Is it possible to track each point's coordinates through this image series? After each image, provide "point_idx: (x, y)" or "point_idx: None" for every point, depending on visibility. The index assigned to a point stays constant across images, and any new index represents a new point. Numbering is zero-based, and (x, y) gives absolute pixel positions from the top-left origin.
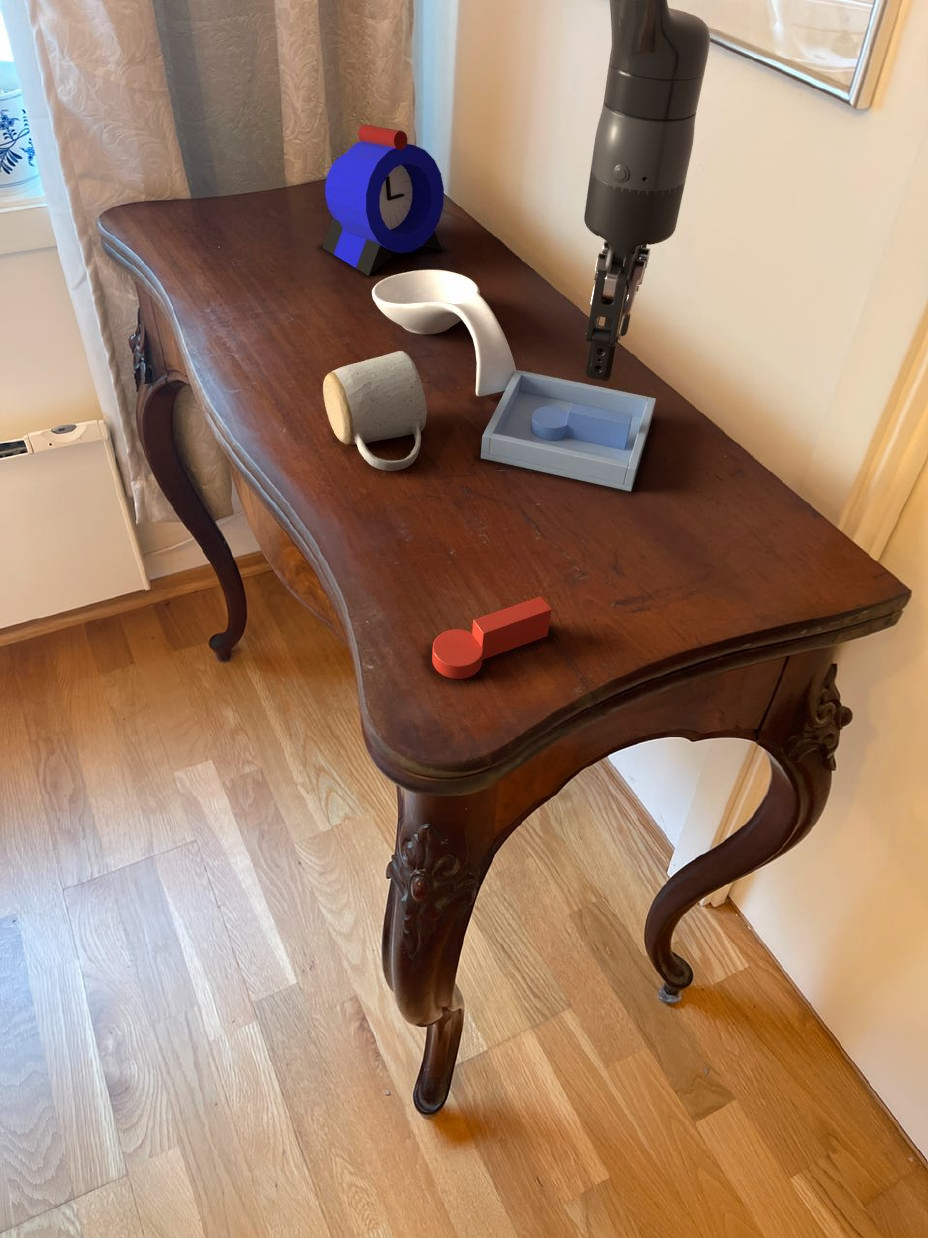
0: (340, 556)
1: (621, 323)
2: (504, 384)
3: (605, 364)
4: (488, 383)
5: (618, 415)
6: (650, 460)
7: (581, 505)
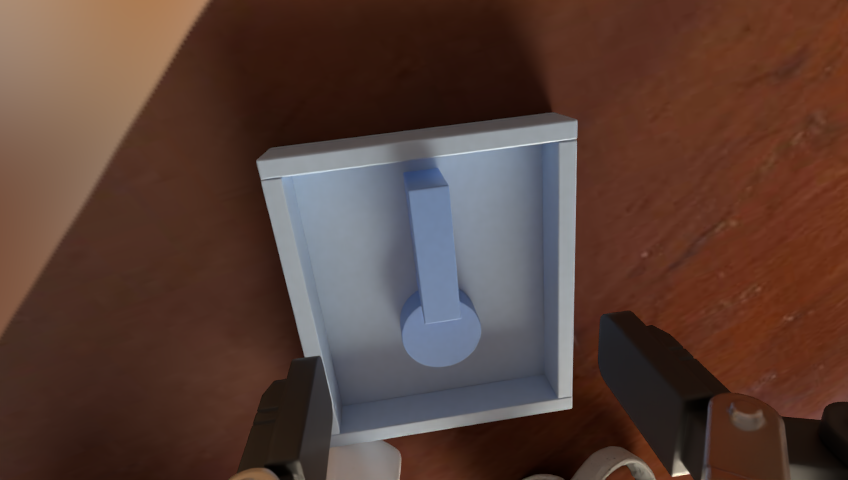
0: None
1: (768, 460)
2: None
3: (689, 358)
4: (386, 461)
5: (425, 220)
6: (425, 104)
7: (625, 187)
